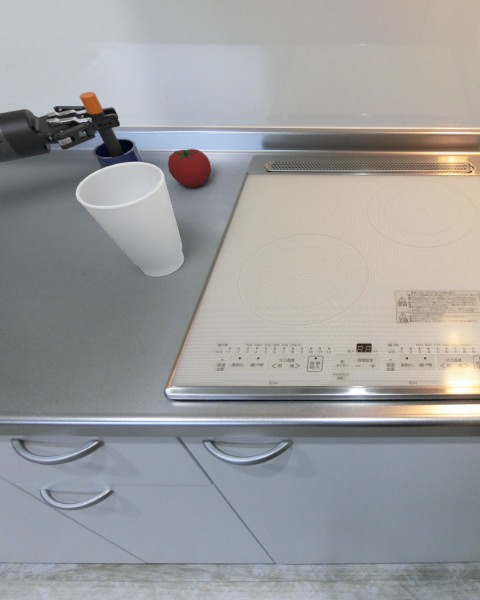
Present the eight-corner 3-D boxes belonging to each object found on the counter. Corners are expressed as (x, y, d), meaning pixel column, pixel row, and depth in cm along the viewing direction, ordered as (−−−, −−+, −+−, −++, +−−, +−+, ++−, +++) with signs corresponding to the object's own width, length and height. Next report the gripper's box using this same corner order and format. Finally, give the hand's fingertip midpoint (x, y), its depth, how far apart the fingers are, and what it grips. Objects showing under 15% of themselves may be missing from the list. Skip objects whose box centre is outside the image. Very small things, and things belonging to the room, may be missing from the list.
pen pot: (105, 184, 91) (85, 148, 85) (141, 169, 95) (124, 134, 89) (123, 198, 87) (103, 162, 82) (158, 182, 91) (142, 147, 85)
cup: (171, 294, 70) (126, 214, 59) (110, 278, 73) (54, 198, 61) (212, 248, 78) (180, 168, 66) (156, 234, 80) (115, 155, 68)
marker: (109, 156, 86) (76, 94, 77) (121, 151, 87) (91, 90, 79) (115, 161, 85) (82, 99, 76) (127, 156, 86) (97, 94, 77)
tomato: (216, 170, 95) (206, 139, 89) (211, 191, 89) (199, 160, 84) (178, 172, 94) (165, 141, 89) (170, 194, 89) (156, 162, 83)
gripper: (-9, 133, 69) (111, 111, 75) (-3, 99, 77) (104, 82, 83) (21, 175, 75) (130, 151, 80) (23, 139, 83) (122, 120, 89)
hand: (116, 116), depth 82 cm, fingers closed on marker, 2 cm apart
